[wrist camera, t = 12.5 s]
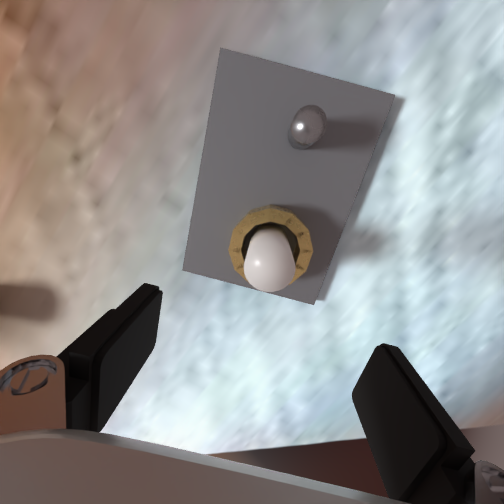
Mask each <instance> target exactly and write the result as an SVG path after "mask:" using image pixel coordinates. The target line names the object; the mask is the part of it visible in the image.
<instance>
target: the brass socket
mask: <svg viewBox="0 0 504 504" xmlns="http://www.w3.org/2000/svg"><path fill="white" fill-rule="evenodd" d="M270 221H271V222H275V223H279V224H282V225H286V226H287V227H288V228H289V229H290V230H291V231H292V232H293V233H294V234H295V236H296V241H297V244H296V247H295V250H294V253H293V258H294V262H295V275H294V277H293V279H292V281H291V282H290V283H289V284H288V285H290V284H292V283H293V282H294V281H295V280H296V279H297V278H299V277H300V276H301V275H302V274H303V273H304V272H306V270H307V267H308V265H309V262H310V259H311V256H312V253H313V248H312V243H311V238H310V234H309V230H308V228H307V227H306V225H305V224H304V223H303V222H302V221H301V220H300V219H299V218H298V217H297V216H296V215H295V214H294V213H293V212H292V211H291V210H290V209H287V208H283V207H279V206H275V205H272V204H270V205H266V206H262V207H259V208H255V209H251V210H250V211H249V212H248V213H247V214H246V215H245V216H244V217H243V218H242V219H241V220H240V221H239V222H238V223H237V225H236V226H235V228H234V229H233V232H232V236H231V241H230V245H229V249H228V251H229V254H230V257H231V260H232V263H233V267H234V270H235V271H236V272H237V273H239V274H240V275H241V276H242V277H243V278H244V279H245V280H246V281H247V282H248V280H247V279H246V277H245V274H244V262H245V259H246V255H247V251H246V247H245V244H244V240H245V236H246V234H247V233H248V232H249V231H250V230H251V229H252V228H253V227H254V226H255V225H259V224H262V223H266V222H270ZM248 283H249V282H248ZM249 284H250V283H249Z"/></svg>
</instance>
